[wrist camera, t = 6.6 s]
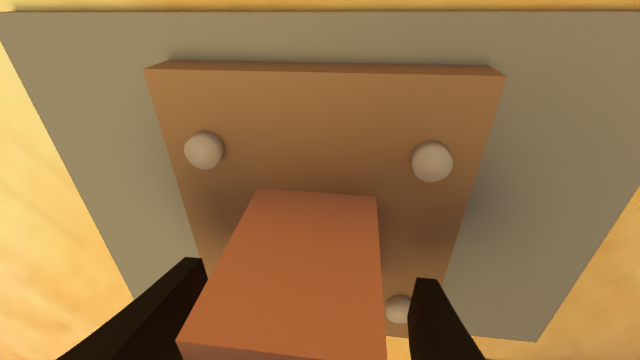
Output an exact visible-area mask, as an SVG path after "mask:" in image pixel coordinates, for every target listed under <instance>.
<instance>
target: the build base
mask: <svg viewBox="0 0 640 360" xmlns="http://www.w3.org/2000/svg"><path fill="white" fill-rule="evenodd" d="M0 41H1V43H2V45H3V47H4V49H5V51H6V53H7V55H8V57H9V59H10V60H11V62H12V64H13V66H14V68H15V70H16V72H17V74H18V76H19V78H20V80H21V82H22V84H23V86H24V87H25V89H26V91H27V93H28V95H29V97H30V99H31V101H32V103H33V105H34V107H35V109H36V111H37V113H38V115H39V116H40V118H41V120H42V122H43V124H44V126H45V128H46V130H47V132H48V134H49V136H50V138H51V140H52V142H53V143H54V145H55V147H56V149H57V151H58V153H59V155H60V157H61V159H62V161H63V163H64V165H65V167H66V169H67V171H68V172H69V174H70V176H71V178H72V180H73V182H74V184H75V186H76V188H77V190H78V192H79V194H80V196H81V198H82V200H83V201H84V203H85V205H86V207H87V209H88V211H89V213H90V215H91V217H92V219H93V221H94V223H95V225H96V227H97V228H98V230H99V232H100V234H101V236H102V238H103V240H104V242H105V244H106V246H107V248H108V250H109V252H110V254H111V256H112V257H113V259H114V261H115V263H116V265H117V267H118V269H119V271H120V273H121V275H122V277H123V279H124V281H125V283H126V284H127V286H128V288H129V290H130V292H131V294H132V296H133V298H134V300H135V299H136V298H137V297H138V296H140V295H141V294H142V293H143V292H144V291H146V290H147V289H148V288H149V287H150V286H151V285H153V284H154V283H155V282H156V281H157V280H158V279H160V278H161V277H162V276H163V275H164V274H165V273H167V272H168V271H169V270H170V269H171V268H172V267H174V266H175V265H176V264H177V263H178V262H179V261H181V260H182V259H183V258H184V257H194V258H202V260H203V264H204V267H205V270H206V274H207V277H208V279H209V277H210V275H211V273H212V271H213V270H214V268H215V266H216V264H217V262H218V260H219V258H220V257H221V255H222V253H223V251H224V249H225V247H226V246H227V244H228V242H229V240H230V238H231V236H232V234H233V233H234V231H235V229H236V227H237V225H238V223H239V221H240V220H241V218H242V216H243V214H244V212H245V210H246V208H247V207H248V205H249V203H250V201H251V199H252V197H253V195H254V194H255V192H256V190H257V188H263V189H277V190H291V191H304V192H318V193H331V194H345V195H359V196H372V197H376V201H377V216H378V231H379V245H380V260H381V275H382V290H383V305H384V319H385V334H386V336H393V337H402V338H409V336H408V323H407V315H408V311H409V306H410V302H411V298H412V294H413V290H414V285H415V281H416V277H419V278H430V279H437V280H438V281H439V283H440V285H441V287H442V288H443V290H444V292H445V294H446V296H447V298H448V299H449V301H450V303H451V305H452V306H453V308H454V310H455V311H456V313H457V315H458V316H459V318H460V320H461V321H462V323H463V325H464V326H465V328H466V330H467V331H468V333H469V334H470V335H471V336H481V337H490V338H500V339H509V340H518V341H528V342H537V340H538V339H539V337H540V336H541V334H542V333H543V331H544V330H545V328H546V327H547V325H548V324H549V322H550V321H551V319H552V318H553V316H554V315H555V313H556V312H557V310H558V309H559V307H560V306H561V304H562V302H563V301H564V299H565V298H566V296H567V295H568V293H569V292H570V290H571V289H572V287H573V286H574V284H575V283H576V281H577V280H578V278H579V277H580V275H581V274H582V272H583V271H584V269H585V268H586V266H587V264H588V263H589V261H590V260H591V258H592V257H593V255H594V254H595V252H596V251H597V249H598V248H599V246H600V245H601V243H602V242H603V240H604V239H605V237H606V236H607V234H608V233H609V231H610V230H611V228H612V227H613V225H614V223H615V222H616V220H617V219H618V217H619V216H620V214H621V213H622V211H623V210H624V208H625V207H626V205H627V204H628V202H629V201H630V199H631V198H632V196H633V195H634V193H635V192H636V190H637V189H638V187H639V186H640V10H615V11H11V12H0Z"/></svg>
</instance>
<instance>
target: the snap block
mask: <svg viewBox="0 0 640 360" xmlns="http://www.w3.org/2000/svg"><path fill="white" fill-rule="evenodd" d="M175 341H176V344H177V346H178V348H179V350H180V353H181V355H182V357H183V360H387V349H386V334H385V319H384V305H383V290H382V275H381V260H380V245H379V231H378V216H377V201H376V197H372V196H359V195H345V194H331V193H318V192H304V191H291V190H277V189H263V188H257V190H256V192H255V194H254V195H253V197H252V199H251V201H250V203H249V205H248V207H247V208H246V210H245V212H244V214H243V216H242V218H241V220H240V221H239V223H238V225H237V227H236V229H235V231H234V233H233V234H232V236H231V238H230V240H229V242H228V244H227V246H226V247H225V249H224V251H223V253H222V255H221V257H220V258H219V260H218V262H217V264H216V266H215V268H214V270H213V271H212V273H211V275H210V277H209V279H208V281H207V283H206V284H205V286H204V288H203V290H202V292H201V294H200V296H199V297H198V299H197V301H196V303H195V305H194V307H193V309H192V310H191V312H190V314H189V316H188V318H187V320H186V321H185V323H184V325H183V327H182V329H181V331H180V333H179V334H178V336H177V338H176V340H175Z"/></svg>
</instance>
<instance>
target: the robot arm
mask: <svg viewBox="0 0 640 360" xmlns="http://www.w3.org/2000/svg"><path fill="white" fill-rule="evenodd" d="M207 281H208V277H207V274H206V270H205V267H204V264H203V260H202V258H194V257H184V258H183V259H182V260H181V261H179V262H178V263H177V264H176V265H175V266H174V267H172V268H171V269H170V270H169V271H168V272H167V273H165V274H164V275H163V276H162V277H161V278H160V279H158V280H157V281H156V282H155V283H154V284H153V285H151V286H150V287H149V288H148V289H147V290H146V291H144V292H143V293H142V294H141V295H140V296H138V297H137V298H136V299H135V300H134V301H132V302H131V303H130V304H129V305H128V306H126V307H125V308H124V309H123V310H122V311H120V312H119V313H118V314H116V315H115V316H114V317H113V318H111V319H110V320H109V321H107V322H106V323H105V324H104V325H102V326H101V327H100V328H99V329H97V330H96V331H95V332H93V333H92V334H91V335H90V336H88V337H87V338H86V339H84V340H83V341H81V342H80V343H79V344H77V345H76V346H75V347H73V348H72V349H70V350H69V351H68V352H66V353H65V354H63V355H62V356H60V357H59V358H57V359H56V360H183V357H182V355H181V353H180V350H179V348H178V346H177V344H176V341H175V340H176V338H177V336H178V334H179V333H180V331H181V329H182V327H183V325H184V323H185V321H186V320H187V318H188V316H189V314H190V312H191V310H192V309H193V307H194V305H195V303H196V301H197V299H198V297H199V296H200V294H201V292H202V290H203V288H204V286H205V284H206V283H207ZM407 323H408V336H409V348H410V354H411V360H486V359H485V357H484V356H483V354H482V353H481V351H480V350H479V348H478V347H477V345H476V344H475V342H474V340H473V339H472V337H471V336H470V334H469V333H468V331H467V330H466V328H465V326H464V325H463V323H462V321H461V320H460V318H459V316H458V315H457V313H456V311H455V310H454V308H453V306H452V305H451V303H450V301H449V299H448V298H447V296H446V294H445V292H444V290H443V288H442V287H441V285H440V283H439V281H438V280H437V279H430V278H419V277H416V281H415V285H414V290H413V294H412V298H411V302H410V306H409V311H408V315H407Z"/></svg>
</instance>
